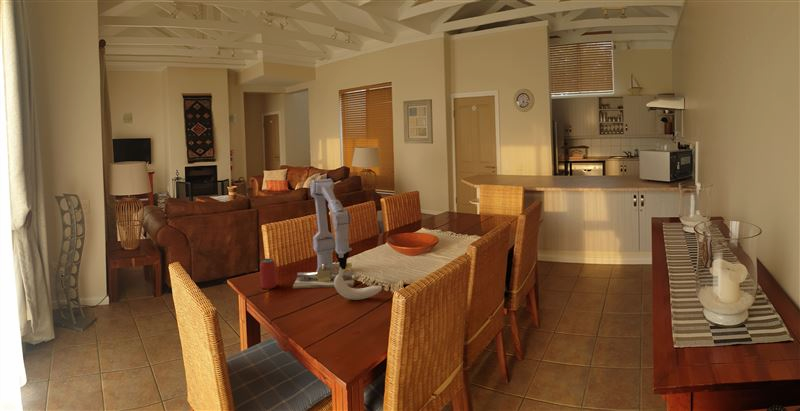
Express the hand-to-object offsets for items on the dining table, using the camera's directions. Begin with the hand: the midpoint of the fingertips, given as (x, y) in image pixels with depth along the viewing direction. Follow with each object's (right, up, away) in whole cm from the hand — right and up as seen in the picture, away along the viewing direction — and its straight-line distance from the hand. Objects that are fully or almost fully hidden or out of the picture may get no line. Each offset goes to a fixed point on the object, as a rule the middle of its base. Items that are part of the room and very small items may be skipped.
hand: (343, 268), depth 210 cm
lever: (-3, +1, +2) cm, 4 cm away
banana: (+8, -10, -18) cm, 22 cm away
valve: (-8, -5, +3) cm, 10 cm away
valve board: (-8, -6, +3) cm, 11 cm away
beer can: (-32, -8, -1) cm, 33 cm away
